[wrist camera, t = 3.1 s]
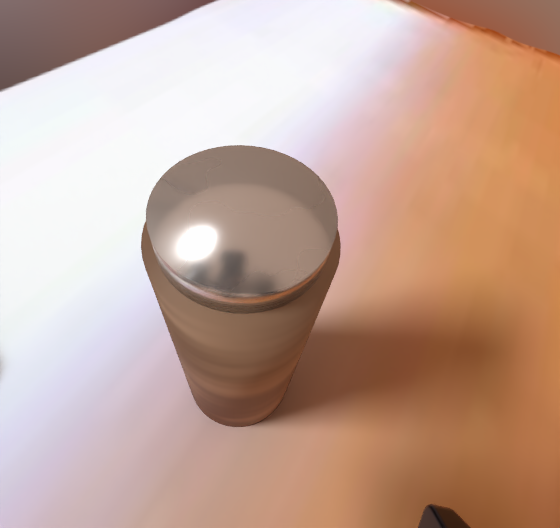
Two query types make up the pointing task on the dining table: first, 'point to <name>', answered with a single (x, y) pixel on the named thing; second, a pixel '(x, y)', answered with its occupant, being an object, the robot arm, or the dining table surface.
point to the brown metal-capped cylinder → (240, 272)
